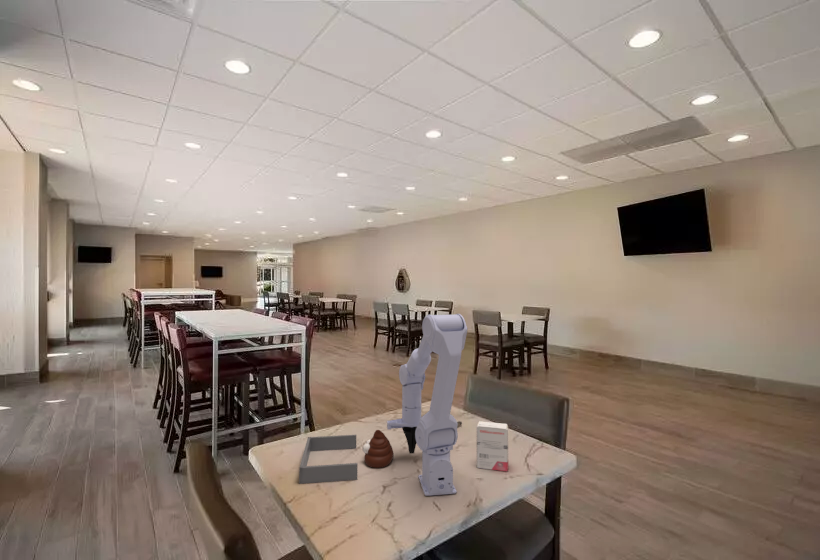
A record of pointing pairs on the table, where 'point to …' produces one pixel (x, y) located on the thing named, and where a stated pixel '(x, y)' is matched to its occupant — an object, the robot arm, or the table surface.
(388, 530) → the table surface
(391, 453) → the poop emoji
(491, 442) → the ink box
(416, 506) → the table surface
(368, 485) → the table surface
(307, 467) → the bin
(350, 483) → the table surface
